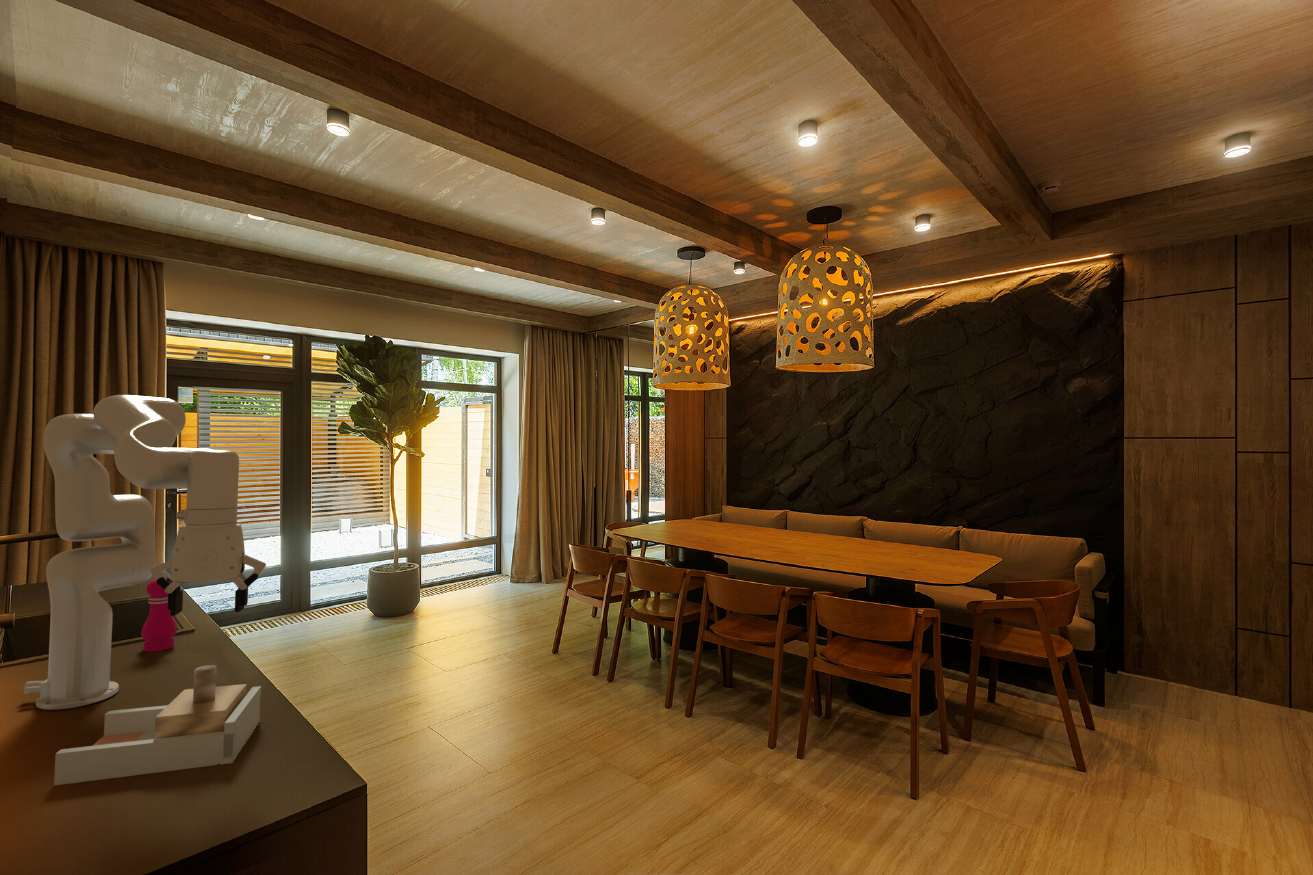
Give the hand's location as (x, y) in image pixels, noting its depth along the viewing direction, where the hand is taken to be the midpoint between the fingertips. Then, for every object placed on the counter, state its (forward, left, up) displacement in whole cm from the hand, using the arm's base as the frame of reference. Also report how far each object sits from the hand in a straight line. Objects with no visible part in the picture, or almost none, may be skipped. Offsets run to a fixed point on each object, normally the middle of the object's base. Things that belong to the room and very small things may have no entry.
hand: (208, 611), depth 108 cm
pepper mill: (-30, +63, -24) cm, 73 cm away
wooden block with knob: (0, 0, -23) cm, 23 cm away
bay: (-5, 0, -24) cm, 25 cm away
